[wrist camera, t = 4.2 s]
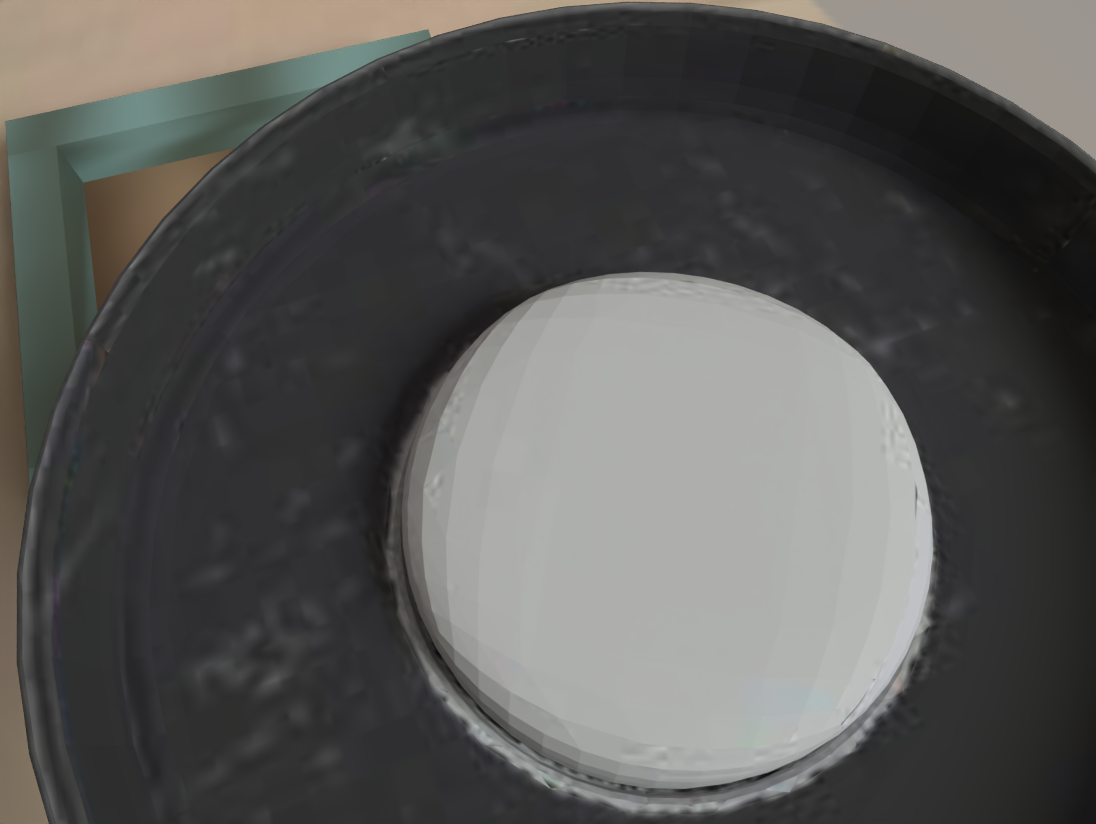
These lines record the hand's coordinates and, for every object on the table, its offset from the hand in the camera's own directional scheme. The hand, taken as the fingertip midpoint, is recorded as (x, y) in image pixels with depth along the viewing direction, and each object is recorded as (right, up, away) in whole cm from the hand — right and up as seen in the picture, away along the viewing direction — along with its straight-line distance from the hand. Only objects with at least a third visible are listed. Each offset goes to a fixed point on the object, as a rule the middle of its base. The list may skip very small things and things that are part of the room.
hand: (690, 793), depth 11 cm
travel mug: (-1, -4, +12) cm, 13 cm away
